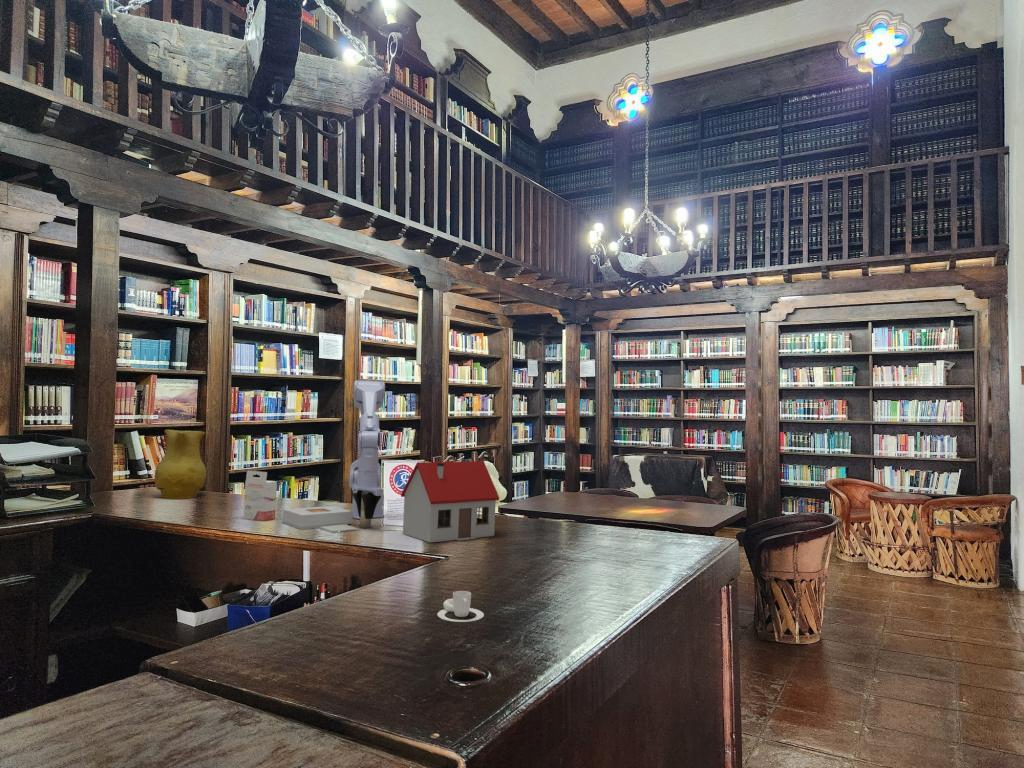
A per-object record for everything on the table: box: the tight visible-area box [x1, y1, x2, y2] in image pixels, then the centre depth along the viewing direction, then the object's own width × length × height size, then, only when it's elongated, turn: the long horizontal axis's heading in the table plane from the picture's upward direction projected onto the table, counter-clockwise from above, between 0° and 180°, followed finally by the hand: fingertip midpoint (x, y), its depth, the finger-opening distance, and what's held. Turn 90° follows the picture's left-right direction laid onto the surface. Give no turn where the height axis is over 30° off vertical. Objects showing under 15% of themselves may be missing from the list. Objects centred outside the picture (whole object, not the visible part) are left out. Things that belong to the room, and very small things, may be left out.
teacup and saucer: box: [437, 590, 485, 623], centre depth 113 cm, size 9×8×4 cm
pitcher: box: [153, 429, 207, 500], centre depth 244 cm, size 17×19×25 cm
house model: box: [400, 460, 500, 543], centre depth 186 cm, size 25×20×21 cm
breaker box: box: [281, 505, 353, 530], centre depth 196 cm, size 16×13×4 cm
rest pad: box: [320, 524, 359, 533], centre depth 188 cm, size 8×8×1 cm
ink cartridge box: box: [243, 470, 278, 522], centre depth 201 cm, size 9×5×15 cm, turn 68°
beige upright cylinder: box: [359, 492, 372, 529], centre depth 193 cm, size 3×3×10 cm
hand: (365, 517), depth 193 cm, fingers closed on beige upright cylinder, 3 cm apart
